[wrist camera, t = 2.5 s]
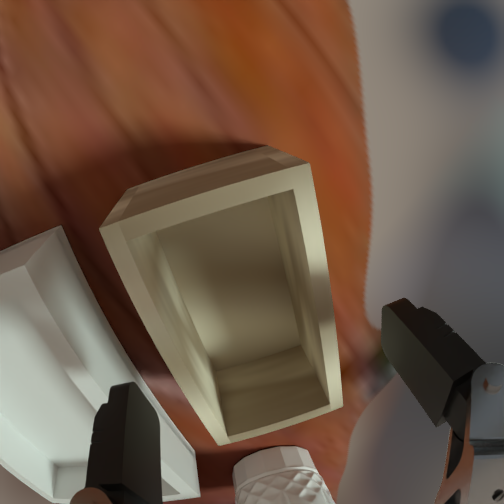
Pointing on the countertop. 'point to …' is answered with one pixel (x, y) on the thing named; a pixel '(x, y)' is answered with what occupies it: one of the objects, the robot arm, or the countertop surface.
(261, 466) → the white cup
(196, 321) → the birch crate
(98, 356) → the white crate
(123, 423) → the robot arm
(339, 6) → the countertop surface
